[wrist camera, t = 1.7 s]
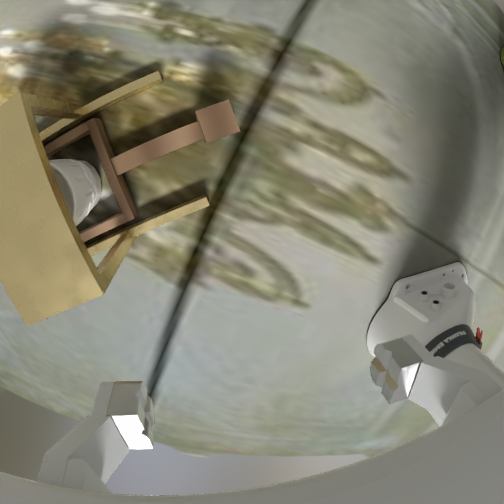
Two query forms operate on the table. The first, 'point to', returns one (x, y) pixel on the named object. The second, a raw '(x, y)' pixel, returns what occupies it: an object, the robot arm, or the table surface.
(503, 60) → the plant pot
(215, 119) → the wooden frame with handle
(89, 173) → the white cup
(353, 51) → the table surface
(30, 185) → the tunnel
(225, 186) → the table surface
